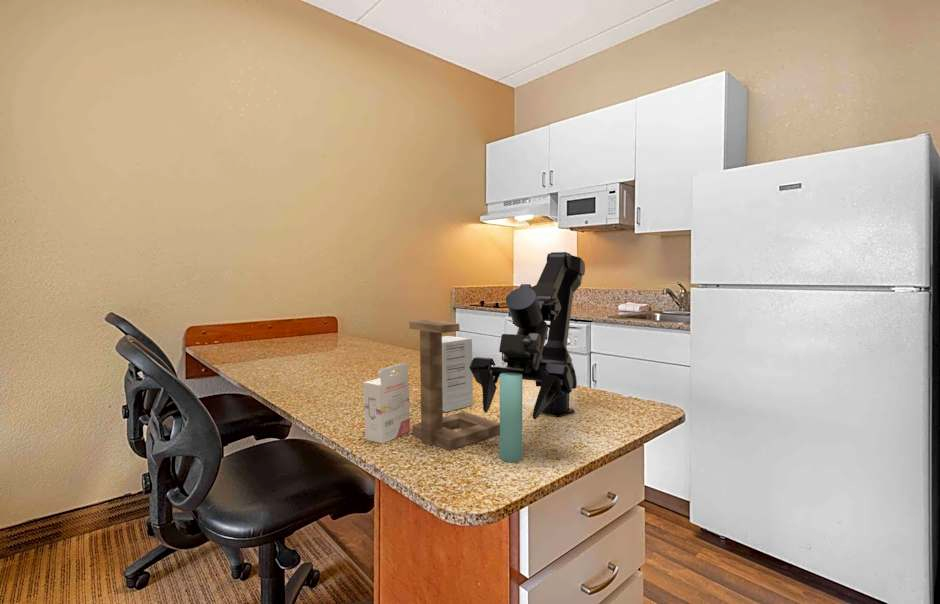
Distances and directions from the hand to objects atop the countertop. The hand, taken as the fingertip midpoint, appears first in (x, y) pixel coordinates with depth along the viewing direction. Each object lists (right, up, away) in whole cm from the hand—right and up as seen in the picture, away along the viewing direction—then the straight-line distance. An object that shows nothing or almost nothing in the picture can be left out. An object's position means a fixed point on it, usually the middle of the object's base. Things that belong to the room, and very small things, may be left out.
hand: (508, 414), depth 84 cm
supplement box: (-12, -6, +35) cm, 38 cm away
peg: (+1, -8, +1) cm, 8 cm away
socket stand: (-9, -7, +14) cm, 18 cm away
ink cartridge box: (-24, -8, +13) cm, 28 cm away
